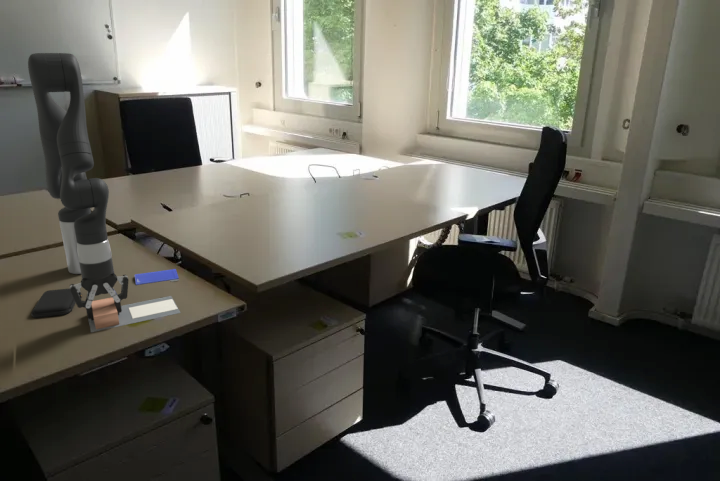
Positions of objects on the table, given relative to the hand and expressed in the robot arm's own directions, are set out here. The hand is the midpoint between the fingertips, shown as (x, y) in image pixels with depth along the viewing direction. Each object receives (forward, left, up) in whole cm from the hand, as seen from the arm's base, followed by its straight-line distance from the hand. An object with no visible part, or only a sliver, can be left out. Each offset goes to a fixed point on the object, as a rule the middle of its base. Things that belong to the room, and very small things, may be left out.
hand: (105, 316), depth 140 cm
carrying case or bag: (-15, -10, -2) cm, 18 cm away
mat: (0, +7, -1) cm, 7 cm away
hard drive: (-22, +17, -2) cm, 28 cm away
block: (0, 0, -1) cm, 1 cm away
